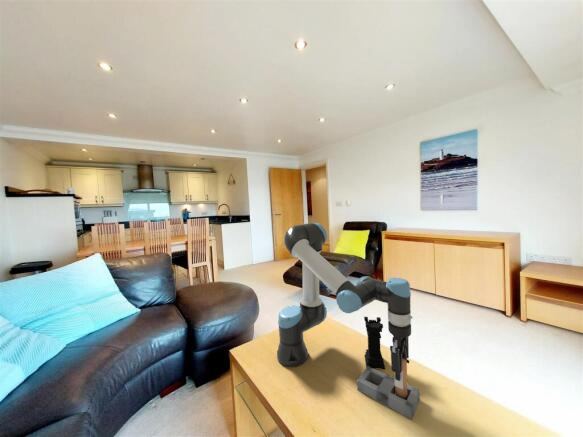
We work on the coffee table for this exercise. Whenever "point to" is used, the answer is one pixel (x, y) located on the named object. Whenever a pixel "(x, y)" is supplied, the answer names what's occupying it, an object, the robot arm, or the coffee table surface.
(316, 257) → the robot arm
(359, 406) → the coffee table surface
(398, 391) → the dowel
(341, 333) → the coffee table surface
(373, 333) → the chess piece
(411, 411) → the socket board
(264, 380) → the coffee table surface
